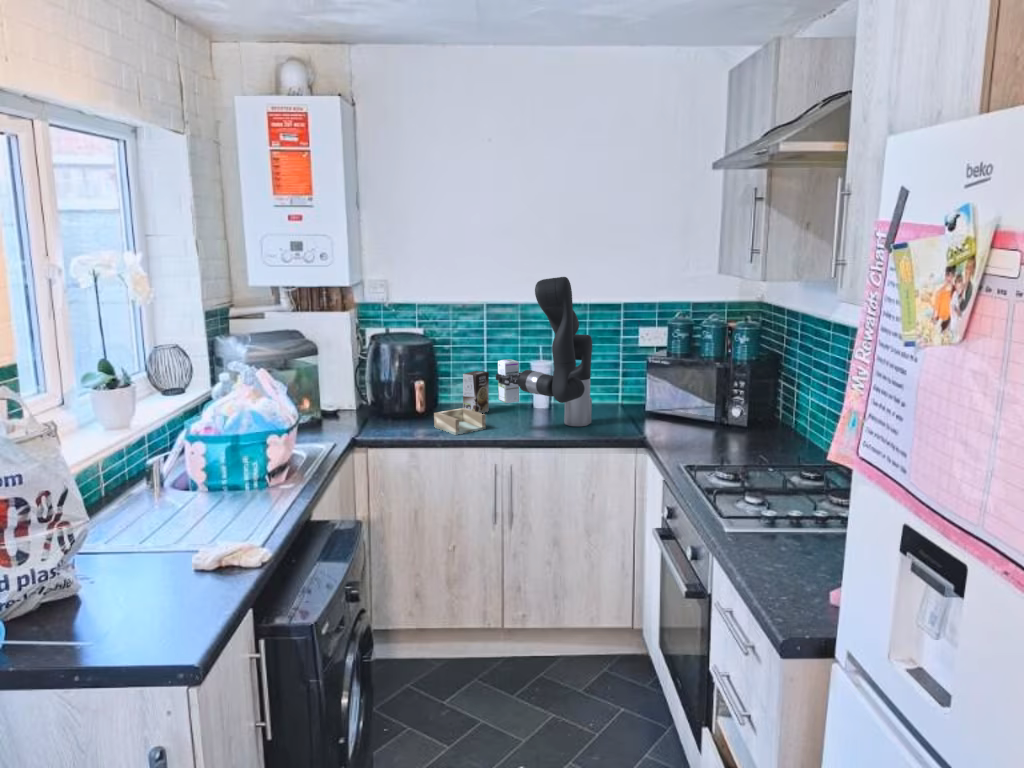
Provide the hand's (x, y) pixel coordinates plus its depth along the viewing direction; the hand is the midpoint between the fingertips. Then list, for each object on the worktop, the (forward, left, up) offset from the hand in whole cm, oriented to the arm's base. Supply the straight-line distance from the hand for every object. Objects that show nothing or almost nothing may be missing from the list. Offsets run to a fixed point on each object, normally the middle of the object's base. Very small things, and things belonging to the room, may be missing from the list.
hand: (504, 375), depth 271 cm
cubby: (+12, -11, -20) cm, 25 cm away
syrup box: (0, +2, -9) cm, 9 cm away
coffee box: (-7, -27, -20) cm, 34 cm away
